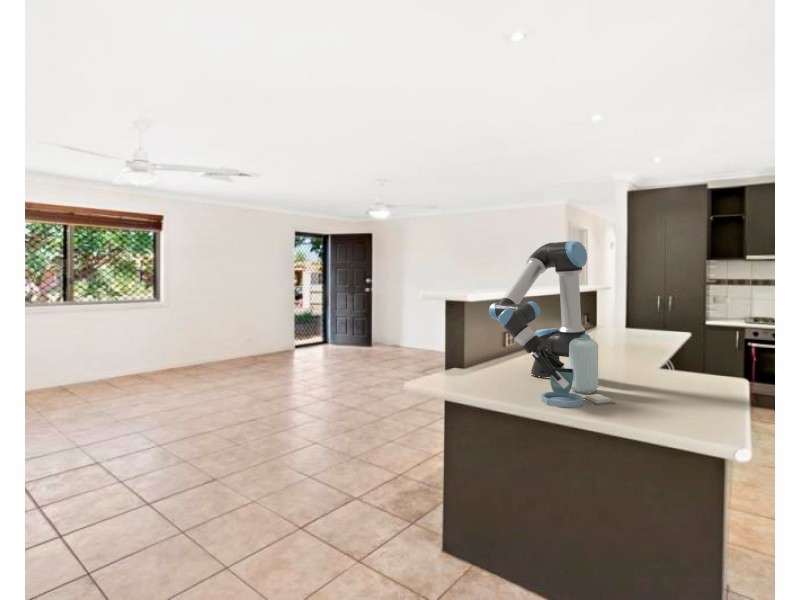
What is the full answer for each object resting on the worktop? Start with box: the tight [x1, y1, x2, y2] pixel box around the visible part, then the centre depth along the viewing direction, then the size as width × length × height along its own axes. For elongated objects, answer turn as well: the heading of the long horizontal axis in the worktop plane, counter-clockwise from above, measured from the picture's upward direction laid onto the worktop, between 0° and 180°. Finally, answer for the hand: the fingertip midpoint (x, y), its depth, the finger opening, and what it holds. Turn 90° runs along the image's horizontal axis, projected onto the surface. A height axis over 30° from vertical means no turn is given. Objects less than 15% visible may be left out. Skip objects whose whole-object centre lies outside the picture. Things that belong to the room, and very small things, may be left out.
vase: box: [568, 338, 599, 394], centre depth 201 cm, size 12×12×22 cm
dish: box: [541, 391, 584, 408], centre depth 186 cm, size 15×15×2 cm
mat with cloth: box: [582, 393, 616, 406], centre depth 186 cm, size 10×8×2 cm
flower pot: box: [549, 367, 574, 394], centre depth 185 cm, size 9×9×9 cm
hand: (569, 383), depth 184 cm, fingers closed on flower pot, 10 cm apart
